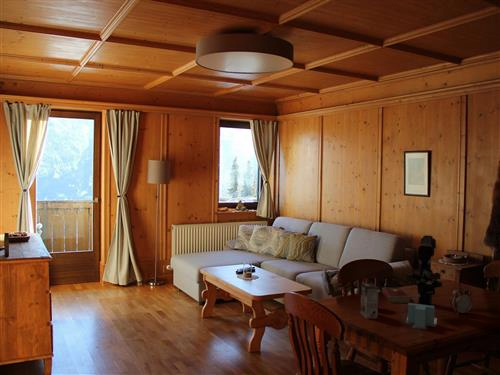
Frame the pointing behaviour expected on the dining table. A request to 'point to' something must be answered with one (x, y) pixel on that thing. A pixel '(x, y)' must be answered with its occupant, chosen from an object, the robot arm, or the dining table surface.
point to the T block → (421, 315)
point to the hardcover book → (396, 295)
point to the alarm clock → (461, 300)
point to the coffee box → (369, 300)
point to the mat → (425, 325)
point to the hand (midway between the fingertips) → (423, 297)
